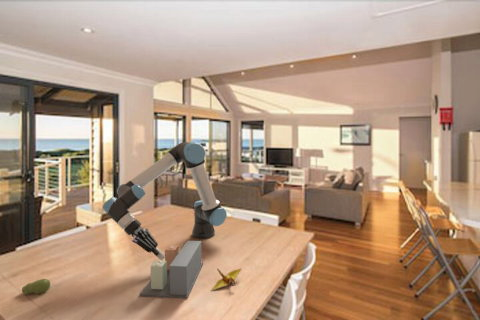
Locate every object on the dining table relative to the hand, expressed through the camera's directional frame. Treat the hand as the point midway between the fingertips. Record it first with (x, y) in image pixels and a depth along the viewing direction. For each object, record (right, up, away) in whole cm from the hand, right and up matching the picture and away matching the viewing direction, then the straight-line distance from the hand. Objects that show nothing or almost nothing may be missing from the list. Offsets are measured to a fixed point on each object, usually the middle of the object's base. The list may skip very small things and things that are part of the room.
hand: (163, 258), depth 126 cm
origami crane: (+32, -7, -12) cm, 34 cm away
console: (+7, -6, -8) cm, 13 cm away
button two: (+3, -6, -16) cm, 17 cm away
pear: (-48, -7, -18) cm, 52 cm away
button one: (+4, -5, 0) cm, 6 cm away
